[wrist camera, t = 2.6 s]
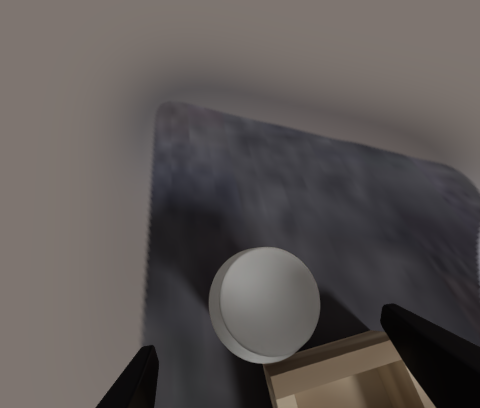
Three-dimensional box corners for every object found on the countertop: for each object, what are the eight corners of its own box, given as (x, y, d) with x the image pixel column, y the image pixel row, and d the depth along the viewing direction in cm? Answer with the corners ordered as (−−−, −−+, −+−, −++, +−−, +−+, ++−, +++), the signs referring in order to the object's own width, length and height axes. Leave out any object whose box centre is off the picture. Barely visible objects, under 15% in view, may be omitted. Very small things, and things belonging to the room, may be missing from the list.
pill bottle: (207, 332, 16) (178, 353, 8) (228, 261, 19) (223, 215, 10) (279, 355, 16) (335, 405, 7) (291, 279, 18) (345, 247, 10)
